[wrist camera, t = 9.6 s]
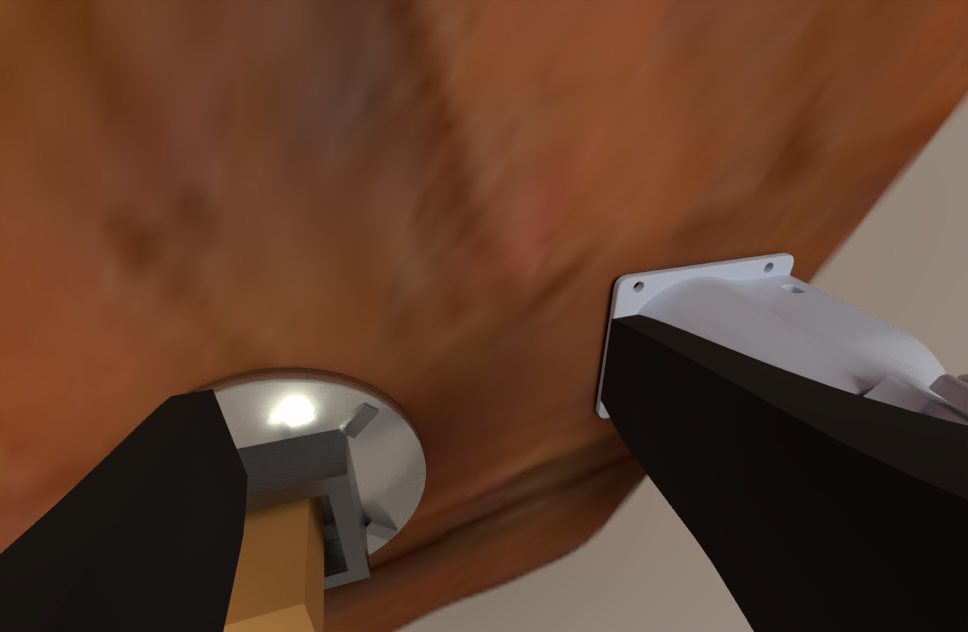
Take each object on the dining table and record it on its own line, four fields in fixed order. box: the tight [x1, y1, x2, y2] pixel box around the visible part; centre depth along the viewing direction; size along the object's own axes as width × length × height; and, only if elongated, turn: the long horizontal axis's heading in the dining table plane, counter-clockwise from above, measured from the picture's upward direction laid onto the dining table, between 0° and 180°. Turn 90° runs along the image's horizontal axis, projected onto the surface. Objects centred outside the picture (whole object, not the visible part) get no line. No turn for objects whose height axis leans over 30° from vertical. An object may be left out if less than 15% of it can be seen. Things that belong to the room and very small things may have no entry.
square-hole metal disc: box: [189, 368, 426, 590], centre depth 19 cm, size 12×12×4 cm
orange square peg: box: [223, 496, 325, 632], centre depth 17 cm, size 3×3×6 cm
